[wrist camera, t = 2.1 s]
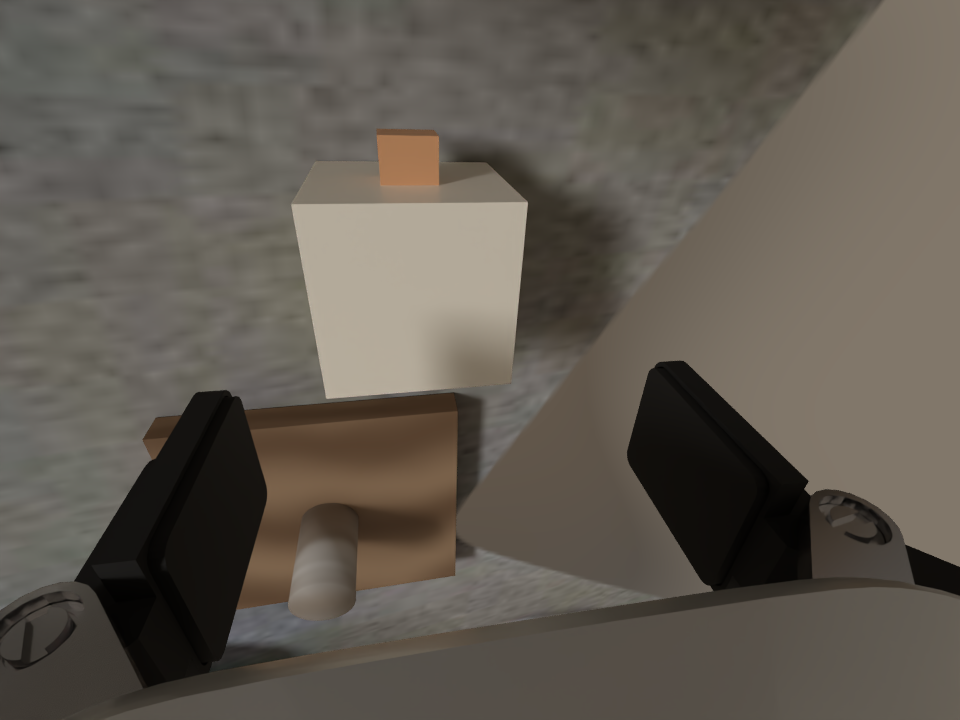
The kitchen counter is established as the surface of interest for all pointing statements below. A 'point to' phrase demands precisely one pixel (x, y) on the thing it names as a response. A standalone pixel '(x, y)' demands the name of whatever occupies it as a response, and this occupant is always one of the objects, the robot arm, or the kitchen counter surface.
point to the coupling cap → (410, 269)
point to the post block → (348, 499)
